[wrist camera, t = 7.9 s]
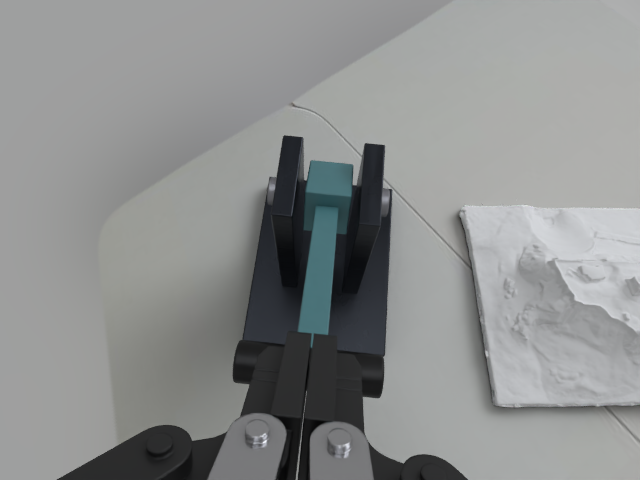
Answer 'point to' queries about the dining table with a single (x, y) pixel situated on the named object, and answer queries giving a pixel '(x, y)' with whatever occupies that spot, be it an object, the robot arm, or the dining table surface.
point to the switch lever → (319, 272)
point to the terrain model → (558, 303)
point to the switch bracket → (349, 263)
